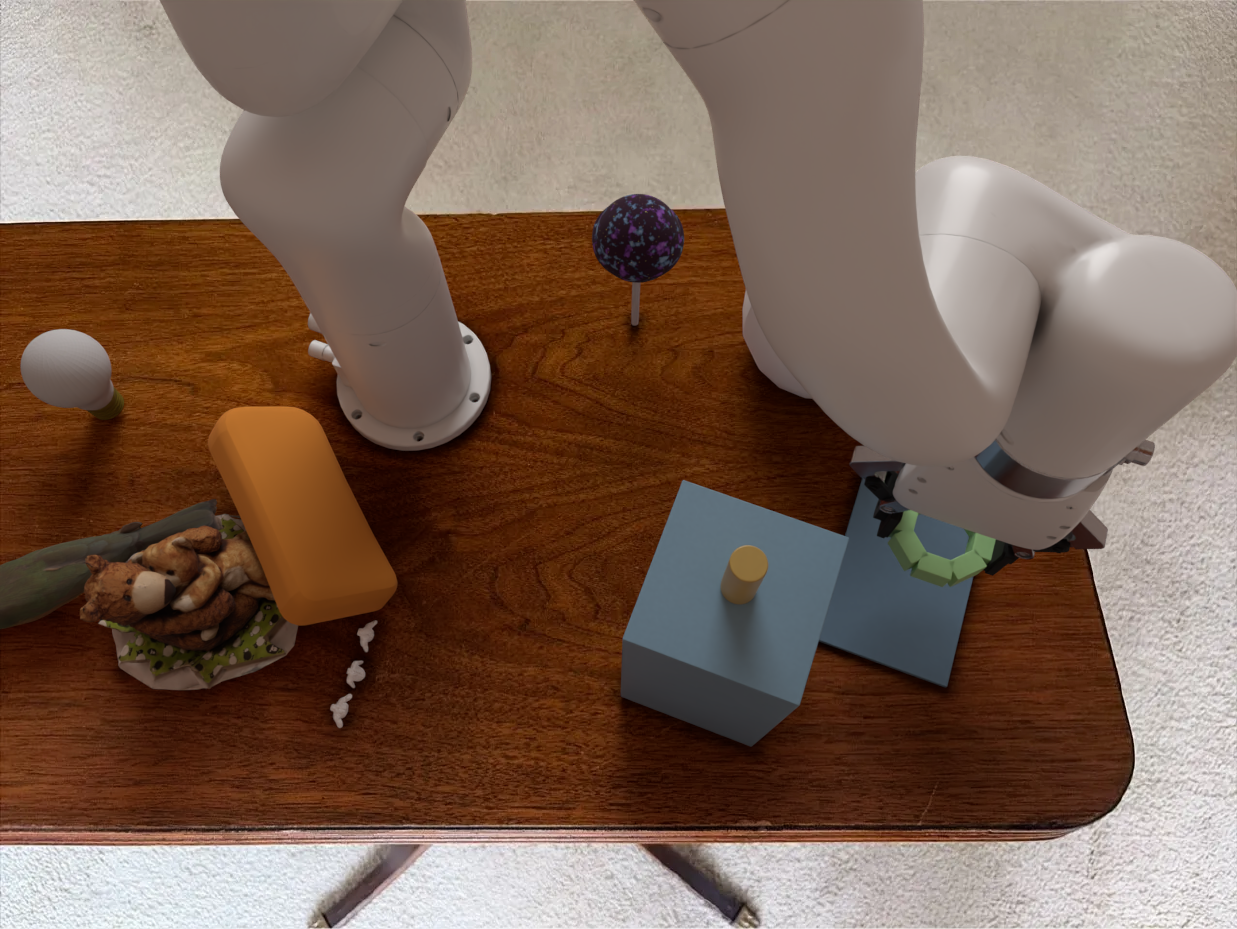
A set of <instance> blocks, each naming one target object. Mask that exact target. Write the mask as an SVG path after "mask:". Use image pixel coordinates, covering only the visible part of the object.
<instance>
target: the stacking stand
mask: <svg viewBox="0 0 1237 929" xmlns="http://www.w3.org/2000/svg"><path fill="white" fill-rule="evenodd" d="M678 488H679V489H678V491H677V494H676V497H675V499H674V502H673V504H672V507H671V509H670V511H669V515H668V517H667V520H666V522H665V525H664V528H663V530H662V533H661V536H660V539H659V541H658V544H657V545H656V546H657V547H656V549H655V552H654V554H653V557H652V561H651V562H650V565H649V567H648V570H647V573H646V575H645V578H644V581H643V583H642V587H641V588H640V591H639V594H638V596H637V599H636V602H635V604H634V607H633V609H632V612H631V615H630V616H629V620H628V623H627V625H626V628H625V631H624V634H623V635H622V638H621V639H622V640H621V642H622V643H621V673H620V674H621V675H620V697H621V698H624V699H626V700H629V701H631V702H634V703H636V704H639V705H641V706H644V707H647V708H650V709H652V710H655V711H658V712H659V713H662V714H665V715H668V716H670V717H673V718H676V719H678V720H681V721H683V722H685V723H688V724H691V725H694V726H696V727H697V728H698V727H699V728H702V729H704V730H706V731H709V732H712V733H715V734H717V735H719V736H722V737H725V738H727V739H730V740H732V741H735V742H737V743H740V744H742V745H745V746H748V747H751V748H752V747H753V746H754V745H755V744H757V743H758V742H759V741H760V740H761V739H762V738H764V737H765V736H766V735H767V734H768V733H770V731H772V730H773V729H774V728H775V727H776V726H778V725H779V724H780V723H781V722H782V721H783V720H784V719H786V718H787V717H789V715H790V714H792V713H793V712H794V711H795V710H796V709H797V708H799V706H800V705H801V702H802V699H803V696H804V692H805V689H806V685H807V683H808V679H809V675H810V672H811V668H812V665H813V662H814V658H815V655H816V652H817V649H818V645H819V643H820V642H819V639H820V635H821V632H822V628H823V625H824V622H825V618H826V615H827V612H828V608H829V605H830V601H831V598H832V595H833V591H834V588H835V585H836V581H837V578H838V575H839V571H840V568H841V564H842V561H843V558H844V554H845V551H846V548H847V544H848V541H849V537H846V536H845V535H843V534H840V533H838V532H834V531H831V530H828V529H825V528H822V527H820V526H817V525H814V524H811V523H808V522H805V521H803V520H799V519H797V518H794V517H792V516H791V517H790V516H788V515H785V514H782V513H779V512H777V511H773V510H772V509H771V510H770V509H768V508H765V507H762V506H759V505H756V504H753V503H751V502H748V501H745V500H742V499H739V498H737V497H733V496H731V495H728V494H725V493H722V492H719V491H716V490H713V489H710V488H708V487H705V486H702V485H699V484H696V483H693V482H691V481H687V480H685V479H682V481H681V483H680V486H679V487H678Z"/></svg>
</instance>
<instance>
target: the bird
mask: <svg viewBox="0 0 1237 929" xmlns="http://www.w3.org/2000/svg"><path fill="white" fill-rule="evenodd" d="M217 504H218V501H217V499H216V498H212V499H210V500H206V501H202V502H198V503H196V504H193V505H191V506H189V507H186V508H183V509H181V510H179V511H177V512H175V513H173V514H171V515H169V516H166V517H164V518H161V519H160V520H158V521H156V522H154V523H150V524H148V525H146V526H143V527H142V525H143V522H140V521H132V522H129V523H128V524H127V523H126V524H124V525H123V526H122V527H121V528H120V529H119V530H115V531H112V532H111V533H105V534H102V535H96V536H95V535H94V536H89V537H82V538H78V539H74V540H70V541H66V542H61V543H57V544H53V545H50V546H47V547H43V548H41V549H37V550H34V551H31V552H29V553H27V554H25V555H23V556H20V557H18V558H15V559H13V560H9V561H6V562H4V563H2V564H0V630H4V629H9V628H12V627H16V626H21V625H24V624H28V623H29V624H30V623H32V622H35V621H38V620H41V619H42V618H44V617H46V616H48V615H50V614H52V613H53V612H55V611H57V610H58V609H59V608H62V607H63V606H65V605H66V604H68V603H70V602H72V601H74V600H75V599H77V598H78V597H80V596H81V595H83V594H85V592H84V586H85V583H86V582H87V580H88V579H89V578H90V576H91V575H92V573H91V572H90V570H89V568H88V567H87V566H86V564H85V563H84V562H86V557H87V556H89V555H99V556H101V557H102V558H103V559H106V560H107V561H108V562H123V563H126V561H128V559H129V558H130V557H131V556H132V555H134V554H136V553H138V552H140V551H143V550H145V549H147V547H148V546H150V545H152V544H156V543H159V542H160V541H162V540H164V539H165V538H167V537H169V536H171V535H174V534H176V533H182V532H184V531H185V530H187V529H190V528H199V527H201V526H209V527H212V528H214V529H218V530H221V529H223V526H222V522H221V519H220V518H219V517H216V516H217V515H215V514H216V512H217V509H218V506H217Z"/></svg>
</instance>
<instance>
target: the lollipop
mask: <svg viewBox="0 0 1237 929" xmlns="http://www.w3.org/2000/svg"><path fill="white" fill-rule="evenodd" d="M684 244H685V231H684V227H683V223H682V221H681V219H680V218H679V216H678V215H677V214H676V212H674V210H673V209H671V208H670V206H668V204H667V203H665V202H664V201H662V200H661V199H660V198H658V197H656V196H652V195H649V194H645V193H632V194H627V195H624V196H622V197H619V198H618V199H616V200H614V201H613V202H611V203H610V204H609V205H608V206H606V207H605V208H604V209H603V210H602V211H601V212H600V214H599V215H598V216H597V217H596V220H595V221H594V224H593V228H592V232H591V245H592V250H593V252H594V255H595V258H596V260H597V261H598V263H599V265H601V267H603V269H604V270H606V271H607V272H608V273H610V274H611V275H613V276H614V277H616V278H618V279H620V280H622V281H624V282H628V283H631V310H630V311H631V313H630V314H631V316H630V324H631V325H632V326H634V327H636V326H638V325H639V324H640V322H639V321H640V303H641V302H640V300H641V299H640V298H641V284H642V283H648V282H651V281H654V280H656V279H658V278H660V277H662V276H664V275H665V274H667V273H668V272H670V271H671V270H672V269H673V268H674V267H675V266H676V264H678V262H679V260H680V258H681V256H682V254H683V250H684Z"/></svg>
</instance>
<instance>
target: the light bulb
mask: <svg viewBox="0 0 1237 929" xmlns="http://www.w3.org/2000/svg"><path fill="white" fill-rule="evenodd" d="M20 375H21V377H22V381H23V382H24V385H25V386H26V388H27V389H28V390H29V391H30V393H31V394H32V395H33V396H35V397H36V398H37V399H38V400H40V401H42V402H43V403H44V404H45V403H46V404H47V405H50V406H53V407H57V408H64V409H75V408H77V409H80V410H84V411H87V412H88V413H89V414H90V415H92V416H93V417H94V418H96V419H98V420H102V421H108V420H111V419H114V418H116V417H117V416H119V415H120V414H121V412H122V411H123V409H124V407H125V399H124V397H123V395H122V394H121V392H120V391H118V390H117V388H116V387H114V384H113V381H112V380H111V378H112V363H111V360H110V357H109V355H108V353H107V351H106V349H105V348H104V347H103V346H102V345H101V344H100V342H99V341H98V340H96V339H95V338H93V337H92V336H90V335H89V334H86V333H84V332H81V331H79V330H75V329H70V328H69V329H67V328H59V329H51V330H49V331H46V332H43V333H41V334H39V335H37V336H36V337H35V338H33V339H32V340H31V341H30V342H29V343H28V344H27V345H26V347H25V348H24V351H23V353H22V355H21V358H20Z"/></svg>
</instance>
